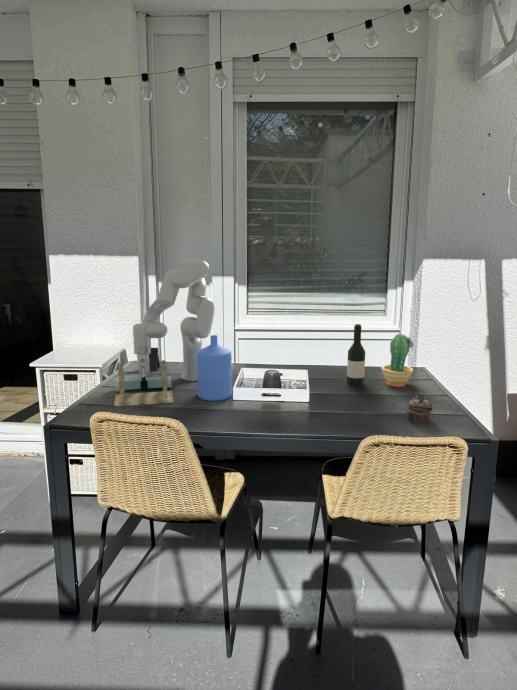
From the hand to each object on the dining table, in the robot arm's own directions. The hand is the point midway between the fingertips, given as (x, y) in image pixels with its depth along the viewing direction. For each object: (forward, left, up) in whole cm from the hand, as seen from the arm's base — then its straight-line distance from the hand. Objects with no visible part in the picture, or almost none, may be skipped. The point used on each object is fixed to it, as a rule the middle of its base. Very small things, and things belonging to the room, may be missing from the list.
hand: (144, 387), depth 233 cm
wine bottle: (-102, +14, -1) cm, 102 cm away
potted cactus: (-122, +18, -1) cm, 123 cm away
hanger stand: (0, +16, -1) cm, 16 cm away
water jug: (-32, +17, -1) cm, 36 cm away
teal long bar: (0, 0, -1) cm, 1 cm away
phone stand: (-5, -36, -1) cm, 36 cm away
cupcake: (-107, +64, -1) cm, 124 cm away
